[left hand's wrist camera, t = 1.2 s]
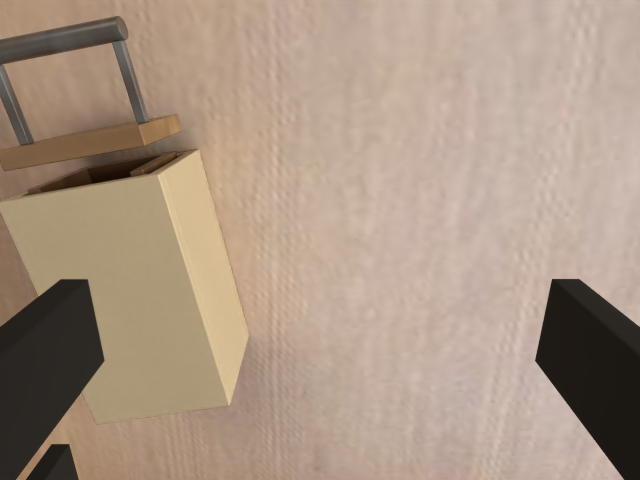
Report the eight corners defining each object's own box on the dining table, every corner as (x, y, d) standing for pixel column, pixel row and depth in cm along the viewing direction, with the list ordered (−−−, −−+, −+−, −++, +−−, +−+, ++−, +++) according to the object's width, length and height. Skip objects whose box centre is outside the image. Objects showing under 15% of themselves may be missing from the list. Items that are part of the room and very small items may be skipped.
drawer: (30, 49, 30) (-53, 41, 24) (152, 24, 30) (103, 10, 23) (131, 318, 38) (90, 371, 31) (230, 303, 37) (210, 353, 31)
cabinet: (75, 171, 34) (-5, 203, 26) (199, 148, 34) (158, 174, 25) (143, 351, 40) (95, 425, 32) (249, 335, 40) (230, 406, 31)
